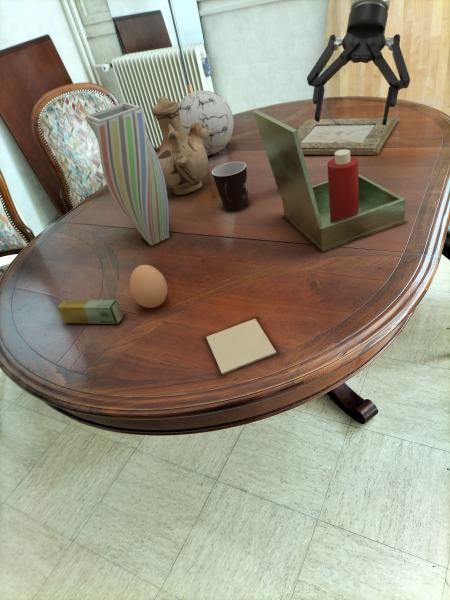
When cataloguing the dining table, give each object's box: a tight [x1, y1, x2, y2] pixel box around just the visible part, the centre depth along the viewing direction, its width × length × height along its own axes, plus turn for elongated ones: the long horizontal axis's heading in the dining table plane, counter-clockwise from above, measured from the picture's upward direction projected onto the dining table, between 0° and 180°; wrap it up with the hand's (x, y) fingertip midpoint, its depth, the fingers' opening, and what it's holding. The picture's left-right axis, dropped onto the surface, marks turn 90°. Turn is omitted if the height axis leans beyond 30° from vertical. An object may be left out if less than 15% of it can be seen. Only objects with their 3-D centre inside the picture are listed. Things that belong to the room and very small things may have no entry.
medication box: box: [57, 299, 124, 325], centre depth 80 cm, size 12×3×4 cm, turn 78°
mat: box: [205, 318, 277, 375], centre depth 67 cm, size 9×9×1 cm
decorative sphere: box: [178, 89, 235, 157], centre depth 138 cm, size 20×20×20 cm
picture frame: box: [296, 116, 398, 156], centre depth 130 cm, size 27×30×3 cm
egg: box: [129, 264, 168, 309], centre depth 78 cm, size 7×7×9 cm
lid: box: [252, 109, 322, 227], centre depth 81 cm, size 19×19×1 cm
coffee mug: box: [211, 161, 249, 213], centre depth 104 cm, size 12×9×10 cm
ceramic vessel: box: [151, 95, 212, 196], centre depth 116 cm, size 18×19×25 cm
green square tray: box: [281, 173, 406, 253], centre depth 90 cm, size 19×19×5 cm
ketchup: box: [326, 149, 359, 221], centre depth 87 cm, size 6×6×14 cm
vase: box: [84, 101, 170, 246], centre depth 94 cm, size 14×14×30 cm
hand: (349, 121), depth 87 cm, fingers open, 13 cm apart
